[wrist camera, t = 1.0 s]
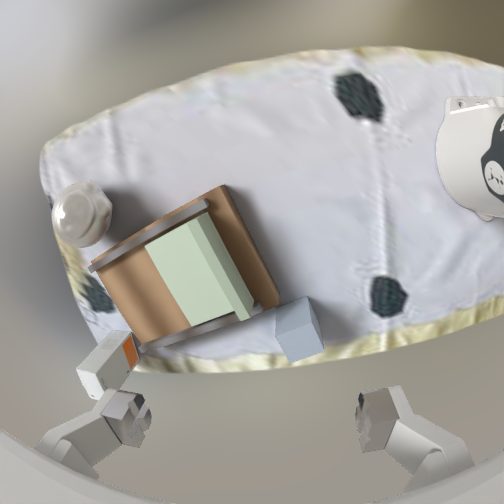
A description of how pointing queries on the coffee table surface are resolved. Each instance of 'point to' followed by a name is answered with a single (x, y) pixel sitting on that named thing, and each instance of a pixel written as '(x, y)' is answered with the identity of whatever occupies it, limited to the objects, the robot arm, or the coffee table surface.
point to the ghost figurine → (82, 214)
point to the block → (298, 330)
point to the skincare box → (108, 364)
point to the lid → (200, 272)
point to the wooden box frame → (154, 288)
